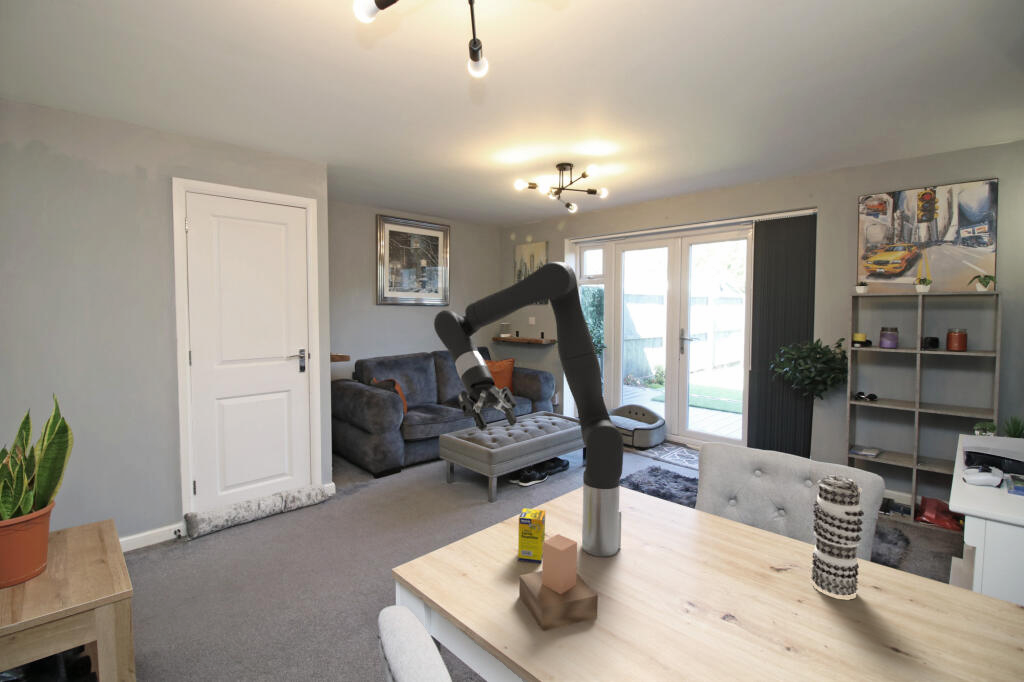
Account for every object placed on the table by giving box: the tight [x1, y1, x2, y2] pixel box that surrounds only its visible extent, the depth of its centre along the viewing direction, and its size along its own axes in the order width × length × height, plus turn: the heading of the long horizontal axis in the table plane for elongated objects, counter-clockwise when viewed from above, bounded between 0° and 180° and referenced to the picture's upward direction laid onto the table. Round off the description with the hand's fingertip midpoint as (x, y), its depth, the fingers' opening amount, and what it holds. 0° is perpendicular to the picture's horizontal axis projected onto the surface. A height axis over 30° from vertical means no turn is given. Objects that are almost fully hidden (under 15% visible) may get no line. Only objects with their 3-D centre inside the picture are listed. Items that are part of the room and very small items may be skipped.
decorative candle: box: [810, 475, 865, 596], centre depth 106 cm, size 9×9×25 cm
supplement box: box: [517, 507, 546, 564], centre depth 119 cm, size 6×6×11 cm
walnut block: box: [518, 570, 599, 632], centre depth 99 cm, size 12×12×5 cm
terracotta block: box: [541, 533, 578, 594], centre depth 99 cm, size 5×5×9 cm
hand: (499, 426), depth 114 cm, fingers open, 8 cm apart
